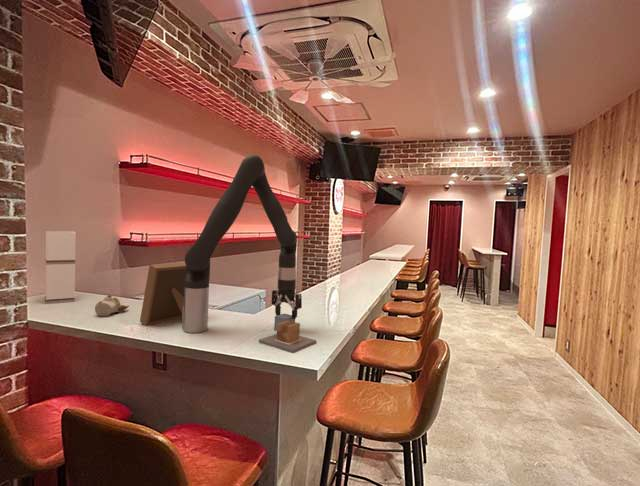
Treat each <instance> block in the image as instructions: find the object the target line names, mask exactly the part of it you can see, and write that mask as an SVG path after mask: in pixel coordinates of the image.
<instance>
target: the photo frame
mask: <svg viewBox="0 0 640 486" xmlns="http://www.w3.org/2000/svg"><path fill="white" fill-rule="evenodd" d="M185 275H186V264H185V261H184V262H173V263H172V262H170V263H158V264H155V263H154V264H149V266H148V272H147V277H146V285H145V289H144V295H143V302H142V308H141V313H140V319H139V322H140V323H141V324H142V325H143V326H145V327H148V326H151V325H155V324H156V325H157V324H160V323H164V322H168V321H169V322H170V321H174V320H178V319H182V312H183V305H184V283H185Z"/></svg>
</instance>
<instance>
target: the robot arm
mask: <svg viewBox="0 0 640 486" xmlns="http://www.w3.org/2000/svg"><path fill="white" fill-rule="evenodd" d="M251 188H252V189H254V191H255V193H256V195H257V197H258V199H259V200H260V201H259V202H260V203H261V205H262V208H263V210H264V212H265V214H266V217H267V218H268V221H269V223H270V224H271V226H272V228H273V231H274V233H275V237H276V238H277V240H278V242H279V244H280V252H279V256H278V269H277V289H274V290H273V289H272V291H271V305H273V306H274V310H275V311H274V313H275V316H277V315H281V314H282V313H281V312H282V311H281V309H282V307H281V306H282V304H283V303H285V304H288V306H290V308H291V309H292V310H291V315H292V319H295V320H296V319H297V318H298V310H299V309H302V308H303V305H302V304H303V303H302V300H303V299H302V293H296V289H297V288H296V287H297V267H296V266H297V258H296V257H297V256H296V255H297V247H298V246H297V245H298V236H297V233H296V231H294V230H293V229H292V226H291V224H290V223H289V221H288V216H287V215H286V212H285V209H284V208H283V207H282V204H281V203H280V201H279V198H277V196H276V195H275V193H274V191H273V190H272V188H271V186H270V183H269V181H268V178H267V174H266V167H265V163H264V161H263V159H262V158H261V157H260V156H258V155H257V154H250V155H247V156H245V157H244V159H242V161H241V163H240V164H239V167H238V170H237V172H236V173H235V175H234V178H233V179H232V182H231V183H230V185H229V186H227V188H226V190H225V191H224V192H223V194H222V196H221V197H220V198H219V200H218V202H217V203H216V205H215V206H214V207H213V210H212V211H211V214H210V215H209V216H208V219H207V221H206V223H205V225H204V227H203V229H202V231H201V233H200V235H199V236H198V237H197V239H196V240H195V242H194V243H193V244H192V245H191V247H190V248H189V249H188V250H187V251H186V252H185V255H184V262H185V264H186V275H185V283H184V305H183V312H182V318H181V320H182V321H181V329H182V331H183V332H185V333H190V334H191V333H193V334H196V333H203V332H206V331H207V330H208V327H209V326H208V325H209V301H210V298H209V297H210V275H211V258H212V256H213V254H214V252H215V250H216V247H217V246H218V244H219V243H220V241H221V240H222V239H223V237H224V236H225V235H226V234H227V233H228V231H229V230H230V228H231V227H233V224H234V222H235V221H236V219H237V218H238V216H239V214H240V212H241V210H242V209H243V206H244V203H245V201H246V199H247V195H248V193H249V191H250V190H251Z"/></svg>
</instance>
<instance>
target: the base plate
mask: <svg viewBox="0 0 640 486" xmlns="http://www.w3.org/2000/svg"><path fill="white" fill-rule="evenodd" d="M276 334H277V333H275V334H270V335H268V336H265V337H262V338H259V339H258V343H259V344H263V345H266V346H269V347H273V348H275V349H279V350H282V351H285V352H288V353H292V354H293V353H295V352H299V351H301V350H302V349H305V348H308V347H310V346H312V345H315V344H317V341H318V340H317V339H313V338H309V337H306V336H302V335H299V340H297V341H294V342H292V343H285V342H282V341H278V340H276Z"/></svg>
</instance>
